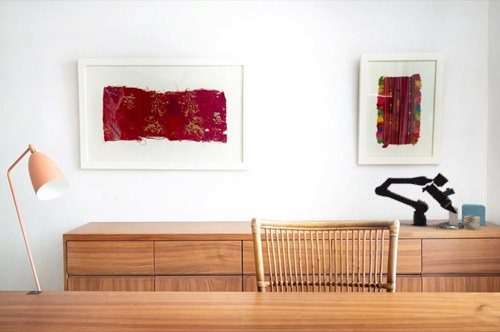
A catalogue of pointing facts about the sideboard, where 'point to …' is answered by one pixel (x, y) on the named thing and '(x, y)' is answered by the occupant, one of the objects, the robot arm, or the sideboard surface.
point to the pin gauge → (448, 227)
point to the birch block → (471, 222)
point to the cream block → (453, 217)
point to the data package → (474, 212)
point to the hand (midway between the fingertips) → (456, 212)
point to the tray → (460, 225)
